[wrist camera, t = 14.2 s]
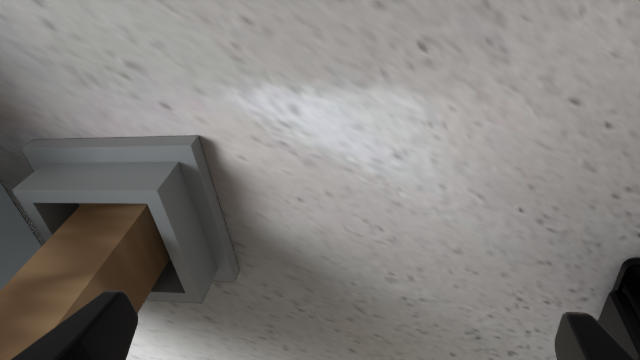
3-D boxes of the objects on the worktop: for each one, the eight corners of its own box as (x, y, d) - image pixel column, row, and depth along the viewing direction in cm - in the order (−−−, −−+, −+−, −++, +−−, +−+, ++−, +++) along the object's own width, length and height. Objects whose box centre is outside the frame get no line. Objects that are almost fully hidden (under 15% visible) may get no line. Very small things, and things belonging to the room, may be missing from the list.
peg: (155, 193, 24) (-7, 409, 15) (177, 246, 27) (48, 463, 17) (91, 193, 25) (-102, 398, 16) (117, 244, 27) (-37, 451, 18)
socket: (198, 135, 23) (169, 173, 20) (239, 270, 29) (221, 314, 26) (33, 139, 25) (-15, 174, 22) (102, 265, 31) (72, 306, 28)
